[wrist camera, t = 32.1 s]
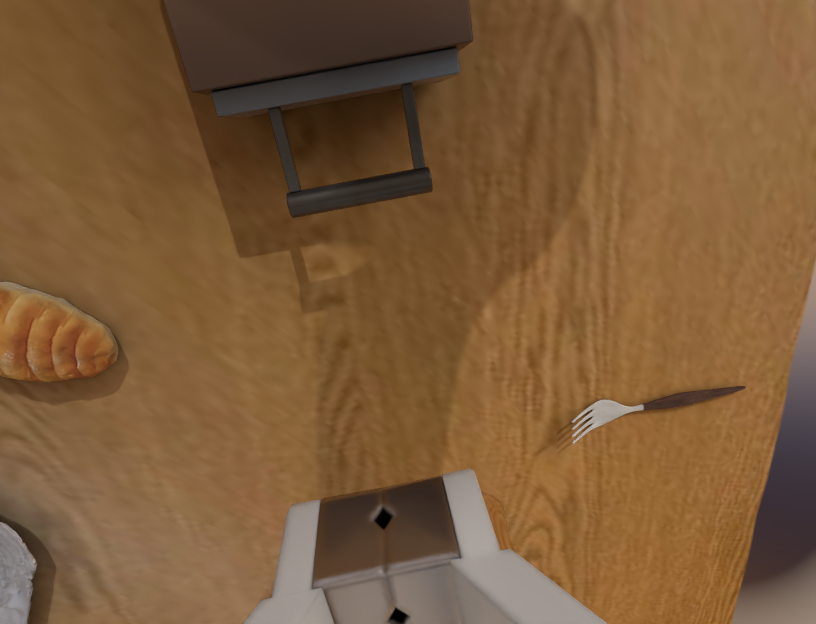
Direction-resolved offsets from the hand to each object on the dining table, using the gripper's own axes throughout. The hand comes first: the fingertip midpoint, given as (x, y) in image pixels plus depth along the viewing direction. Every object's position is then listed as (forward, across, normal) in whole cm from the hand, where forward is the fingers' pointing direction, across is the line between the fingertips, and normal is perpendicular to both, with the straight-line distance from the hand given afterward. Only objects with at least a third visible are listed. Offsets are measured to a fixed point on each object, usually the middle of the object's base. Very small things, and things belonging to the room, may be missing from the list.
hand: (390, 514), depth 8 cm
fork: (+27, -21, +20) cm, 40 cm away
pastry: (+27, +24, +4) cm, 37 cm away
